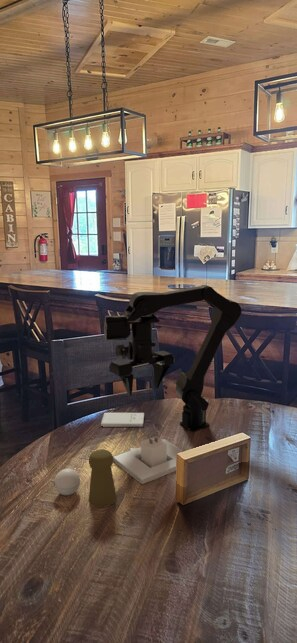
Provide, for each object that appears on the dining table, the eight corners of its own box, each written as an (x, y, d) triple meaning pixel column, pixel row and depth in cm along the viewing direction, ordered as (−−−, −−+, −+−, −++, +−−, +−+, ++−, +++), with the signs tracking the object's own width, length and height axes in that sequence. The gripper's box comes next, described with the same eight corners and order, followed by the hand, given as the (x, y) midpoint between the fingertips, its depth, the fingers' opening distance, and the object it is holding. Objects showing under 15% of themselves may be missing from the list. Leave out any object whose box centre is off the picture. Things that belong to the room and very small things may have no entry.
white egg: (63, 484, 103) (62, 461, 102) (85, 488, 101) (84, 466, 100) (44, 502, 96) (42, 479, 95) (67, 508, 94) (65, 484, 93)
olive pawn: (121, 494, 99) (120, 448, 96) (107, 510, 93) (105, 462, 91) (97, 488, 101) (95, 443, 99) (83, 503, 96) (80, 456, 93)
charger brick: (155, 454, 115) (155, 432, 114) (166, 461, 111) (166, 439, 110) (141, 459, 113) (140, 437, 111) (151, 467, 109) (151, 444, 108)
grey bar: (132, 450, 118) (132, 447, 118) (136, 453, 116) (136, 450, 116) (103, 461, 113) (103, 457, 113) (106, 464, 111) (106, 460, 111)
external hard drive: (104, 416, 141) (144, 416, 140) (101, 428, 133) (143, 428, 132) (104, 412, 140) (144, 411, 140) (100, 423, 132) (143, 423, 132)
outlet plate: (163, 443, 122) (163, 439, 121) (195, 462, 111) (195, 458, 111) (113, 461, 113) (112, 456, 112) (141, 484, 102) (141, 479, 102)
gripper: (152, 328, 135) (152, 377, 138) (98, 338, 124) (100, 391, 128) (175, 335, 126) (175, 387, 129) (119, 346, 116) (121, 403, 119)
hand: (143, 391), depth 127 cm, fingers open, 9 cm apart
